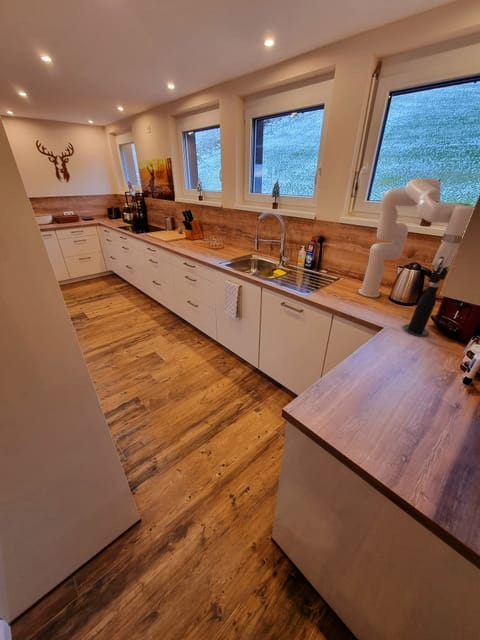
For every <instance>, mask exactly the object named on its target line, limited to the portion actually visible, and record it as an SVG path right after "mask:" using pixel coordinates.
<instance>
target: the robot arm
mask: <svg viewBox="0 0 480 640" xmlns="http://www.w3.org/2000/svg"><path fill="white" fill-rule="evenodd" d="M440 190H441V183H440V181H439V180H438V179H437V178H432V177H430V178H429V177H427V178H426V177H416V178H413V179H411V180H409V181H408V182H407V183H406V185H405V187H394V188H390V189H388V190H387V191H385V193H384V194H383V196H382V197H381V201H380V216H379V220H378V224H377V230H376V238H377V240H379V241H392V242H376V243H374V244H372V245H371V246H370V249H369V258H368V263H367V265H366V266H367V267H366V271H365V275H364V278H363V280H362V285H361V288H358V290H357V293H358V294H359V295H361V296H363V297H366V298H378V297H380V291H379V290H380V289H381V283H382V280H383V276H384V273H385V269H386V265H385V262H384V261H392V260H394V261H395V260H398V259H400V258H401V256H402V255H403V254H404V253H403V252H404V249H405V246H406V242H407V239H408V234H409V228H408V225H407V224H405V223H403V222H397V221H398V216H399V213H398V209H397V207H415V206H416V211H417V215H418V216H420V217H421V218H422V220H424V221H426V222H428V223H434V224H435V223H438V224H439V223H443V224H447V226H446V227H445V231H444V232H443V235H442V237H441V241H440V242H441V243H440V246H439V247H438V249H437V251H436V253H435V256H434V258H433V260H432V262H431V266H432V267H433V269H432V271H431V273H430V276H429V278H428V282H429V283H430V282H432V283H437V282H438V280H439V277H440V275H441V274H440V273H441V271H442V269H445V270H446V272H445V274H444V276H443V278H441V279H440V281H444V280H445V278H446V276H447V274H448V271H449V269H450V266H452V265H451V263H452V260H453V258H454V256H455V254H456V251H457V248H458V246H459V244H460V241H461V239H462V236H463V234H464V231H465V229H466V226H467V224H468V221H469V219H470V216H471V214H472V211H473V209H474V207H475V205H465V204H462V203H456V202H437V201H438V200H439V198H440V195H441V193H440ZM452 264H453V263H452ZM439 268H440V270H439Z"/></svg>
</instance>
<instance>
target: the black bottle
mask: <svg viewBox="0 0 480 640" xmlns="http://www.w3.org/2000/svg"><path fill="white" fill-rule="evenodd" d="M439 270H440V268H439ZM445 272H446V270H445V269H442V271H441V273H440V274H441V275H440V277H439V280H438V282H437V283H432V282H429V284H428V286H427V288H426V291H424V293H423V294H422V295H421V297H420V298H419V300H418V301H417V305H416V306H415V310H414V311H413V314H412V316H411V320H410V322H409V327H408V328H409V329H410V330H411V331H414V332H418V333H422V332H423V331H424V329H426V326H427V324H428V322H429V319H430V317H431V314H432V313H433V310H434V308H435V306H436V303H437V293H438V290H439V288H440V287H439V286H440V281H441V278H443V276H444V274H445Z"/></svg>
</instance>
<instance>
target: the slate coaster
mask: <svg viewBox="0 0 480 640" xmlns="http://www.w3.org/2000/svg"><path fill="white" fill-rule="evenodd" d="M409 324H410V323H409ZM409 324H408V323H407V324H404V326H403V330H404V332H406V333H408V334H410V335H413V336H416V337H426V336H427V335H428V333H429V332H428V330H427V329H426V328H425V329H424V331H423V332H422V333H418V332H414V331H411V330H410V329H409V328H408V327H409Z"/></svg>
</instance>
